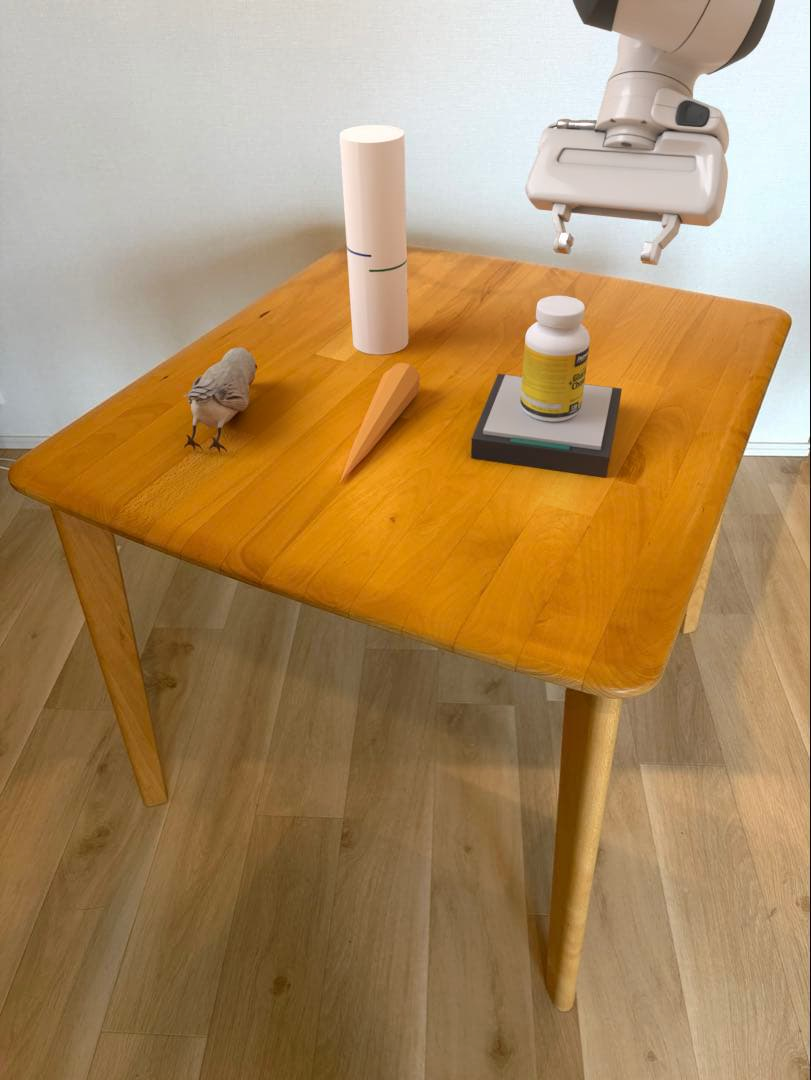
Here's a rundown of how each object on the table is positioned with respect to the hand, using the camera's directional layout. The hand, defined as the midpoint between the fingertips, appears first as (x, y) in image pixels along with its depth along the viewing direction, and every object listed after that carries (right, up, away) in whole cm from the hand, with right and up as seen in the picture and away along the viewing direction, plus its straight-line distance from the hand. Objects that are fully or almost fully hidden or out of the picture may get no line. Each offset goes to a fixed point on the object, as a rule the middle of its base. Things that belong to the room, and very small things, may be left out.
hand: (603, 257), depth 88 cm
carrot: (-24, -18, +5) cm, 30 cm away
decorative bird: (-41, -16, +8) cm, 44 cm away
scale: (-5, -18, +5) cm, 19 cm away
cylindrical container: (-24, -4, +22) cm, 32 cm away
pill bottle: (-5, -15, +3) cm, 16 cm away
